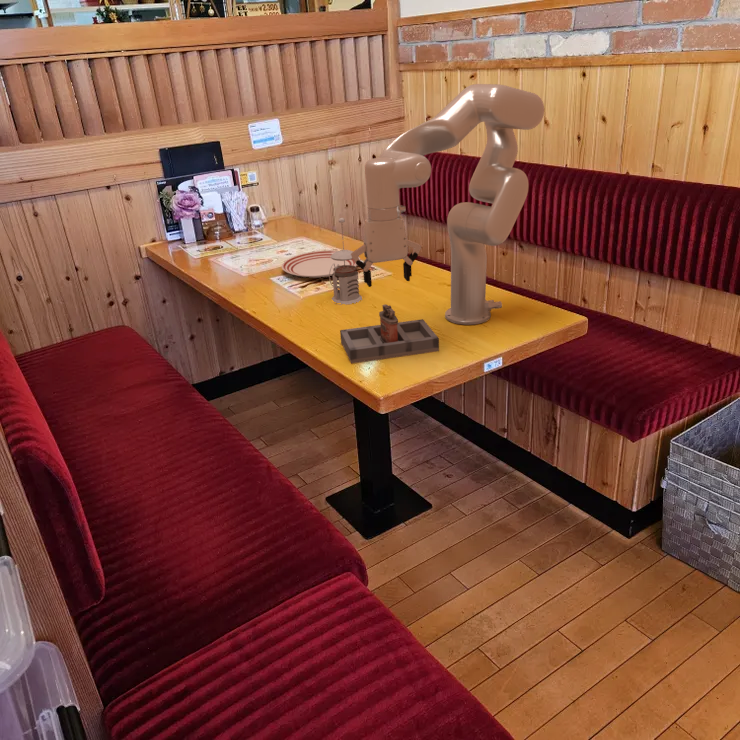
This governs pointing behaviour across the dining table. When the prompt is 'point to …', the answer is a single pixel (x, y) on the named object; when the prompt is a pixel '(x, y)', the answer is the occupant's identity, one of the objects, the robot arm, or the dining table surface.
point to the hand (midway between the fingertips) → (388, 282)
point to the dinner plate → (314, 264)
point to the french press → (345, 278)
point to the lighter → (388, 325)
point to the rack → (410, 342)
